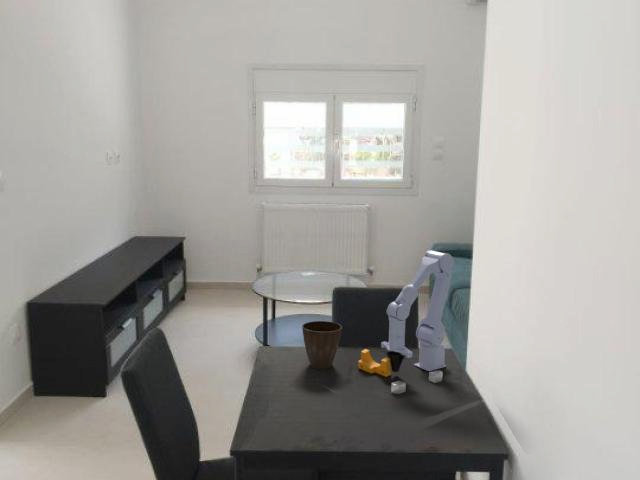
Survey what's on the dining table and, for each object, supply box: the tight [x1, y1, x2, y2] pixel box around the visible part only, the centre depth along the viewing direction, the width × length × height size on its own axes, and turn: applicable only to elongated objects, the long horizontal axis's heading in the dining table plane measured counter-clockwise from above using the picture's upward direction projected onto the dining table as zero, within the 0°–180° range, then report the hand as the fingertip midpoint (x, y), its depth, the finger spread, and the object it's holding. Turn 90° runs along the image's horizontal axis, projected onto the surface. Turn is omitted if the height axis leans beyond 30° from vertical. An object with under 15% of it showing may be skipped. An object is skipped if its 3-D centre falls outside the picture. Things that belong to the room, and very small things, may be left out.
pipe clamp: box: [357, 348, 392, 378], centre depth 220 cm, size 12×4×6 cm, turn 44°
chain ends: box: [390, 369, 443, 395], centre depth 209 cm, size 24×3×3 cm, turn 126°
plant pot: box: [301, 320, 343, 370], centre depth 225 cm, size 15×15×16 cm
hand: (395, 371), depth 218 cm, fingers closed
